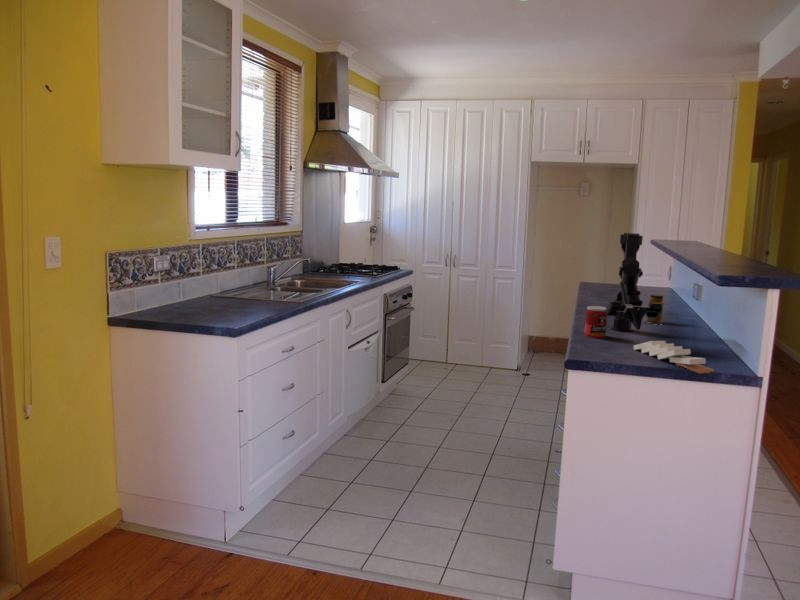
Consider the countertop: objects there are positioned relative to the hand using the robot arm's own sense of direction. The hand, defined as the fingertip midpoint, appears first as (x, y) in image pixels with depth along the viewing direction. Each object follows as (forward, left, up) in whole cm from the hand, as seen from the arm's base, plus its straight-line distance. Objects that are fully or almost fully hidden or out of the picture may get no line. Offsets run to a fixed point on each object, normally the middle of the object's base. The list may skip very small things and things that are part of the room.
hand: (638, 329), depth 231 cm
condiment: (-47, -36, -7) cm, 60 cm away
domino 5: (+2, +19, -6) cm, 20 cm away
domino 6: (+2, +21, -7) cm, 22 cm away
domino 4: (+2, +14, -6) cm, 15 cm away
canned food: (0, -21, -7) cm, 23 cm away
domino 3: (+1, +10, -6) cm, 11 cm away
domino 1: (-1, +1, -6) cm, 7 cm away
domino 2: (0, +5, -6) cm, 8 cm away
